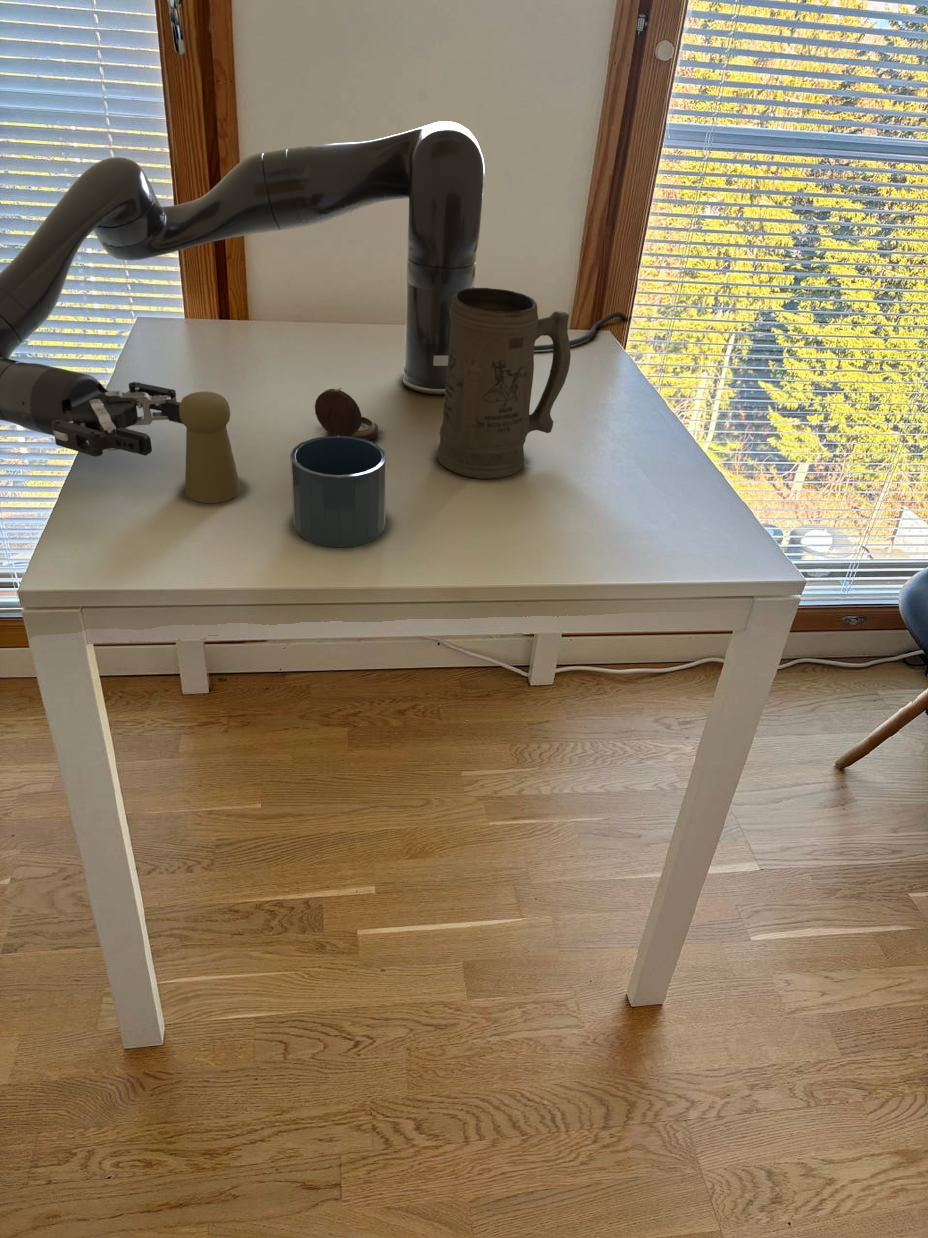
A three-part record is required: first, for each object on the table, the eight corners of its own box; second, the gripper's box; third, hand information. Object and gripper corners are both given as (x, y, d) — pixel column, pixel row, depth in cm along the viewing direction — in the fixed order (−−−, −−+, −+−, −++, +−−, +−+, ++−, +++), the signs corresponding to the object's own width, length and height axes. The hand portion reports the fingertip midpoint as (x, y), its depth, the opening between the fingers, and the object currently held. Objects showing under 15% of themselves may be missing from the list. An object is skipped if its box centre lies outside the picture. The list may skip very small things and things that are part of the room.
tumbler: (358, 495, 102) (358, 429, 97) (401, 533, 95) (403, 465, 91) (279, 514, 97) (275, 445, 92) (319, 556, 91) (317, 484, 86)
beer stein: (456, 486, 105) (480, 312, 94) (417, 448, 113) (435, 283, 101) (565, 474, 112) (600, 311, 101) (521, 439, 119) (549, 283, 108)
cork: (227, 506, 98) (218, 410, 91) (175, 498, 98) (162, 402, 92) (249, 482, 103) (242, 389, 96) (199, 474, 103) (188, 381, 97)
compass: (386, 430, 117) (387, 375, 112) (356, 453, 111) (356, 396, 106) (333, 416, 119) (332, 362, 115) (300, 438, 113) (298, 382, 109)
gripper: (-3, 389, 94) (126, 421, 90) (89, 349, 105) (208, 376, 101) (13, 455, 99) (137, 488, 95) (100, 410, 110) (215, 438, 106)
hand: (174, 430), depth 98 cm, fingers open, 8 cm apart
